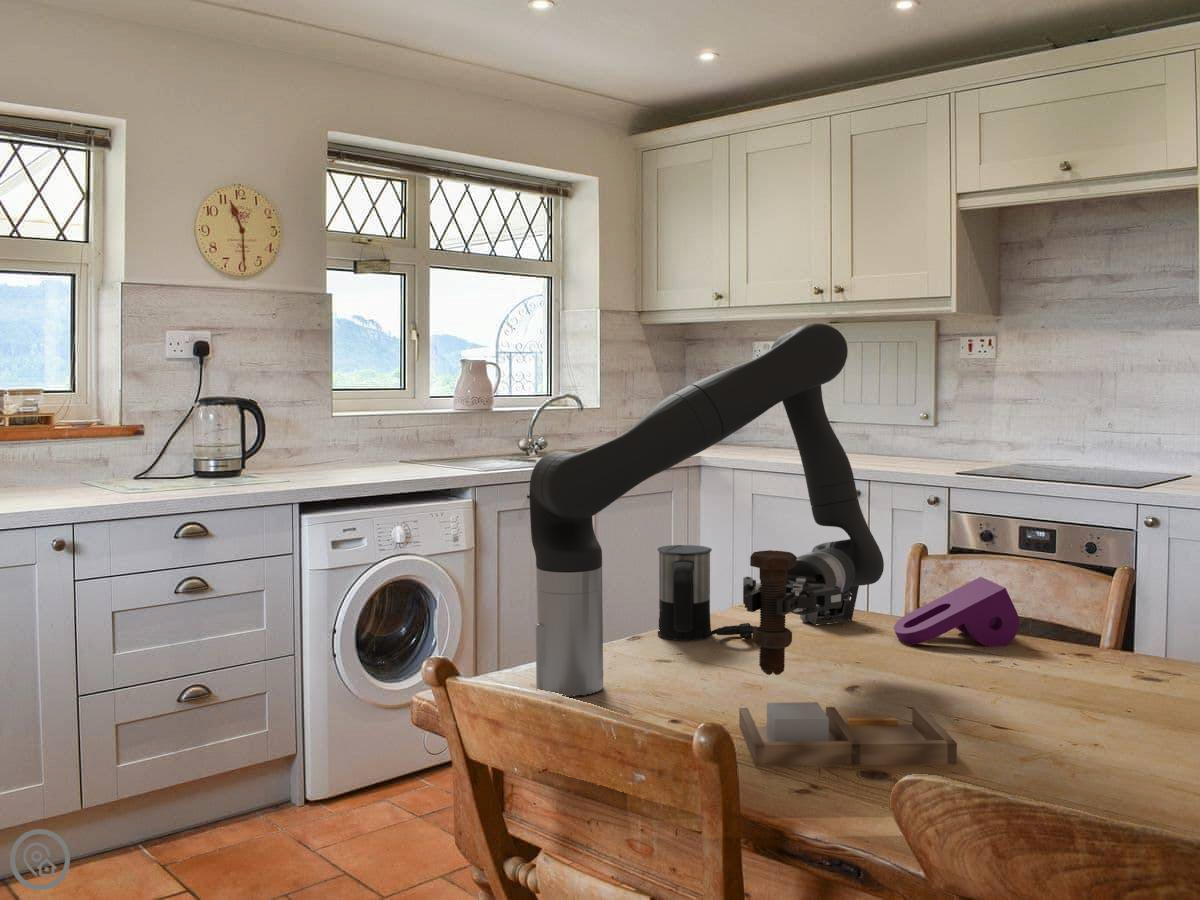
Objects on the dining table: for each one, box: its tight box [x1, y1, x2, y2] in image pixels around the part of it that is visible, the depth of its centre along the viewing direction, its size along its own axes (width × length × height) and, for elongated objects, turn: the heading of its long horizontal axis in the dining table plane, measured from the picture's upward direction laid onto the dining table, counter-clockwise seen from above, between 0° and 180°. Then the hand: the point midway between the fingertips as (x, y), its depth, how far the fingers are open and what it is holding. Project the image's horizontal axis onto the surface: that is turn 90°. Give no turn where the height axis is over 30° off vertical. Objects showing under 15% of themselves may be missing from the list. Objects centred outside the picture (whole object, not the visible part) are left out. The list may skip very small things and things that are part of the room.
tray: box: [738, 705, 958, 767], centre depth 123 cm, size 22×14×4 cm, turn 90°
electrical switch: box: [799, 586, 860, 626], centre depth 187 cm, size 9×5×9 cm, turn 113°
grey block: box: [766, 701, 829, 742], centre depth 123 cm, size 6×6×4 cm
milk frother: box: [656, 544, 758, 642], centre depth 177 cm, size 14×16×15 cm
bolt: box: [749, 549, 798, 676], centre depth 133 cm, size 6×5×15 cm
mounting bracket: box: [893, 576, 1020, 648], centre depth 175 cm, size 9×8×18 cm
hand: (764, 605), depth 130 cm, fingers closed on bolt, 3 cm apart
